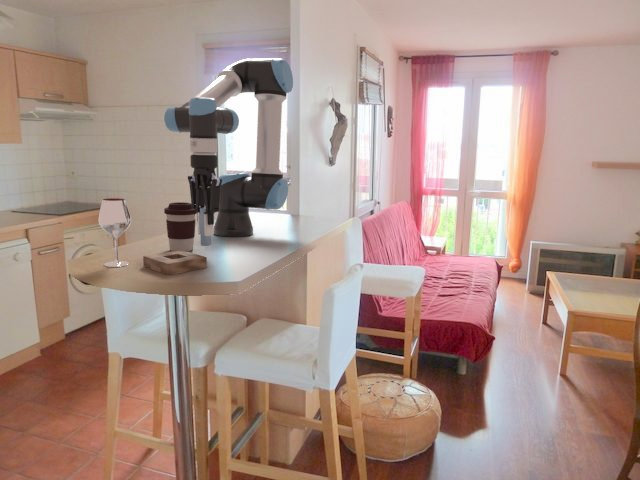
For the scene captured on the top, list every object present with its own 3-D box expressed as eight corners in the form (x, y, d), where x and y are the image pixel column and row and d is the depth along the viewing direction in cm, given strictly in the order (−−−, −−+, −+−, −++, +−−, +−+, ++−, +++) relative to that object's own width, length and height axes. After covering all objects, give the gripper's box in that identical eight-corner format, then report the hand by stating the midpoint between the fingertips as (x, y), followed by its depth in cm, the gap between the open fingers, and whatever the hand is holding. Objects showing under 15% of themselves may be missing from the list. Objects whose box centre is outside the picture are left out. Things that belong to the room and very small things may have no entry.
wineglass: (106, 260, 137) (103, 197, 133) (136, 261, 137) (134, 198, 134) (96, 267, 129) (92, 200, 125) (127, 268, 129) (125, 201, 126)
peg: (207, 243, 145) (206, 207, 143) (213, 244, 143) (212, 208, 141) (198, 244, 143) (197, 208, 141) (204, 246, 141) (203, 209, 139)
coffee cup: (188, 254, 149) (187, 206, 146) (159, 251, 150) (158, 204, 148) (202, 248, 158) (202, 202, 155) (174, 246, 160) (173, 201, 157)
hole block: (181, 260, 141) (181, 250, 140) (206, 267, 133) (206, 257, 132) (143, 266, 132) (143, 256, 131) (168, 275, 124) (167, 263, 123)
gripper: (176, 152, 140) (179, 232, 145) (209, 155, 130) (211, 240, 135) (198, 152, 145) (200, 229, 150) (231, 155, 135) (232, 236, 140)
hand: (205, 234), depth 142 cm, fingers closed on peg, 2 cm apart
